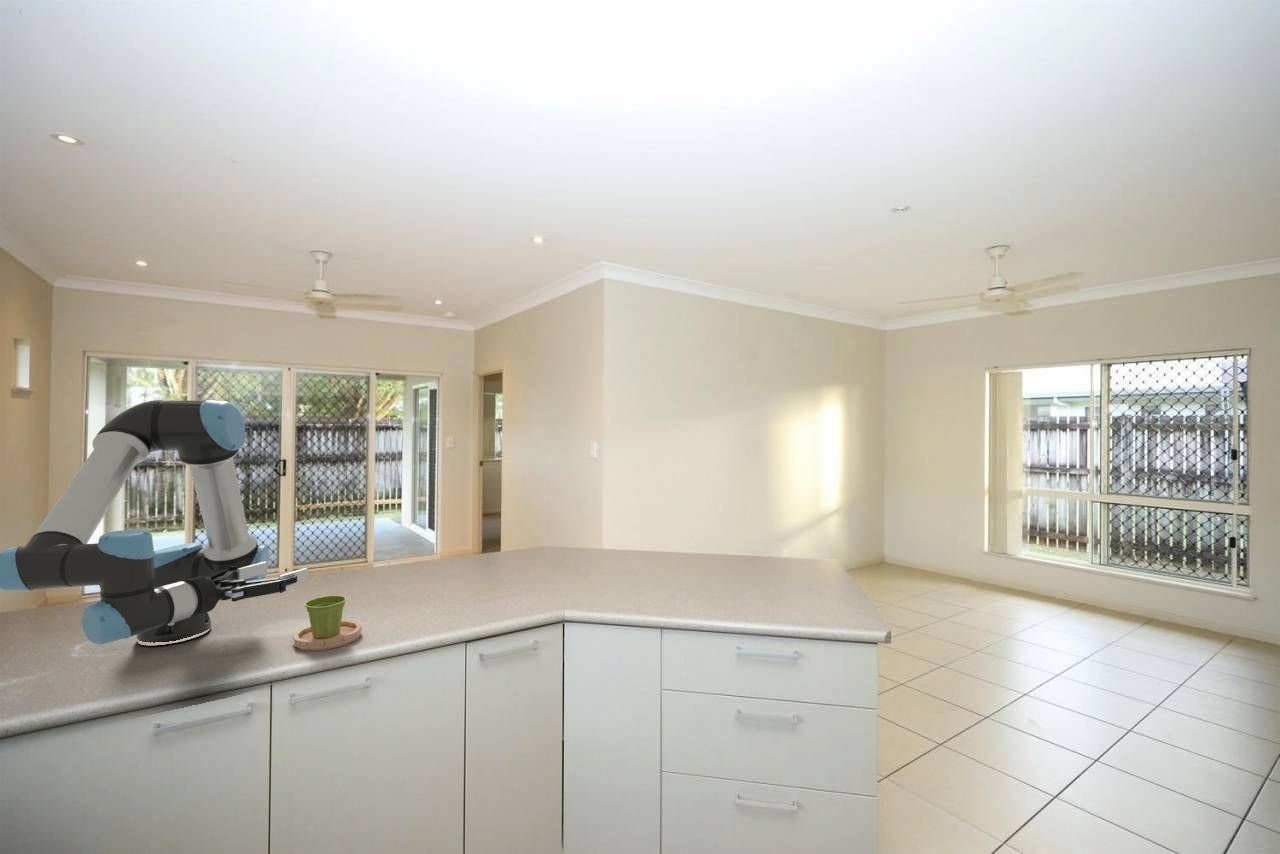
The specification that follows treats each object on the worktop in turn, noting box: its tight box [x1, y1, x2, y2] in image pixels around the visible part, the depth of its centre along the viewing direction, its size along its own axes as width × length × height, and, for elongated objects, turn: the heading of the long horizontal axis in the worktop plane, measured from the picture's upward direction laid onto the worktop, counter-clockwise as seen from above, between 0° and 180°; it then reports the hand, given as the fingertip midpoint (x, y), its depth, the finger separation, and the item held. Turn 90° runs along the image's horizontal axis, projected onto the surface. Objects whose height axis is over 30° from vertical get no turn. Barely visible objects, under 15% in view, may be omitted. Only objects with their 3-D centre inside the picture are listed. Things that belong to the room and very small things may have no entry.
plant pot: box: [304, 595, 347, 639], centre depth 146 cm, size 9×9×9 cm
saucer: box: [292, 619, 363, 652], centre depth 147 cm, size 15×15×2 cm
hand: (286, 570), depth 135 cm, fingers open, 13 cm apart
